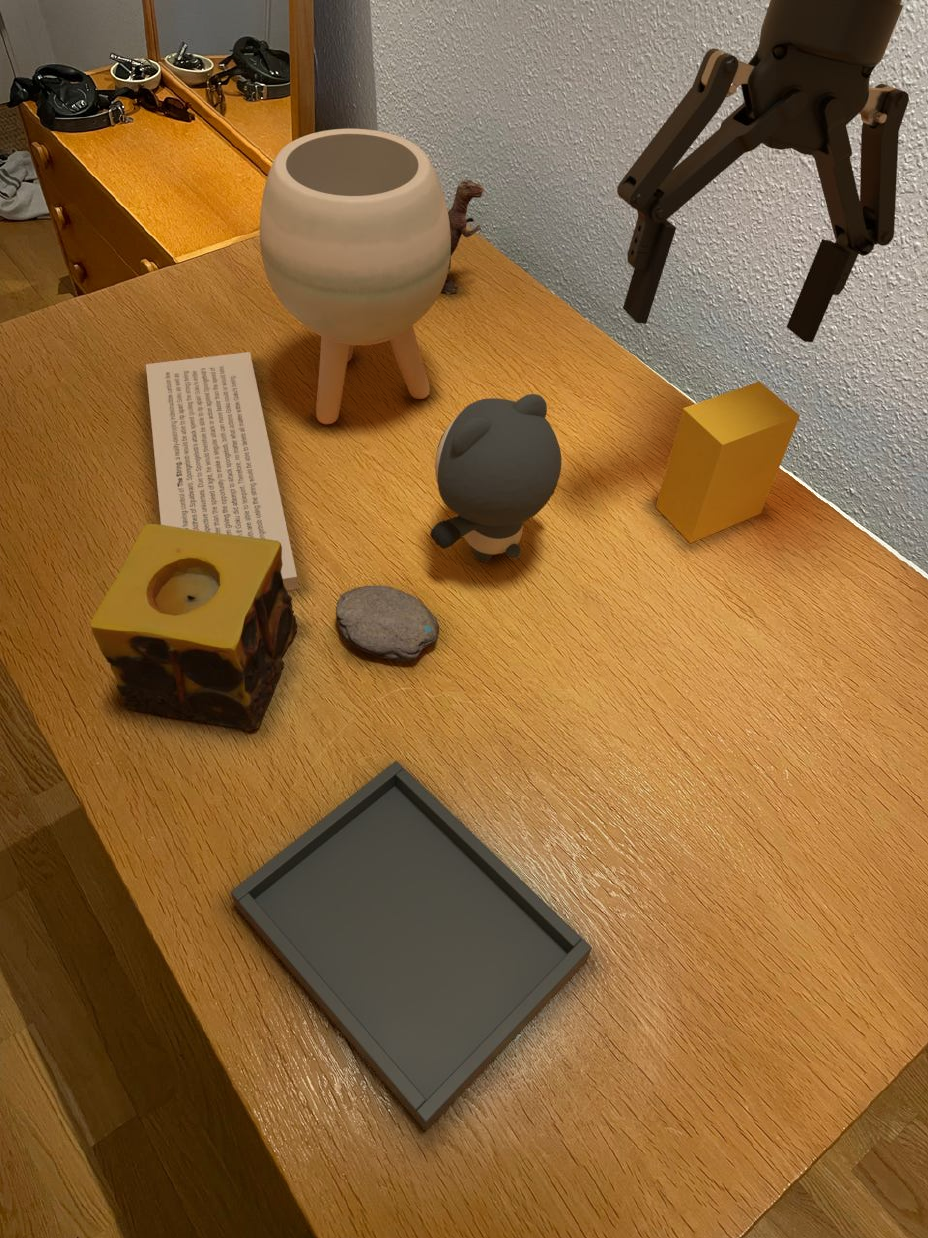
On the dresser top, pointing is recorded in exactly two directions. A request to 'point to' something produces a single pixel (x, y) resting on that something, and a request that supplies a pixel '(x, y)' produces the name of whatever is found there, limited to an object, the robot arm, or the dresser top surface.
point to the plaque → (215, 451)
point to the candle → (197, 625)
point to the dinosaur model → (460, 221)
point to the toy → (495, 473)
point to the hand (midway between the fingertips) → (718, 326)
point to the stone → (386, 622)
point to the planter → (356, 247)
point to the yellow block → (725, 460)
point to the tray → (411, 938)
